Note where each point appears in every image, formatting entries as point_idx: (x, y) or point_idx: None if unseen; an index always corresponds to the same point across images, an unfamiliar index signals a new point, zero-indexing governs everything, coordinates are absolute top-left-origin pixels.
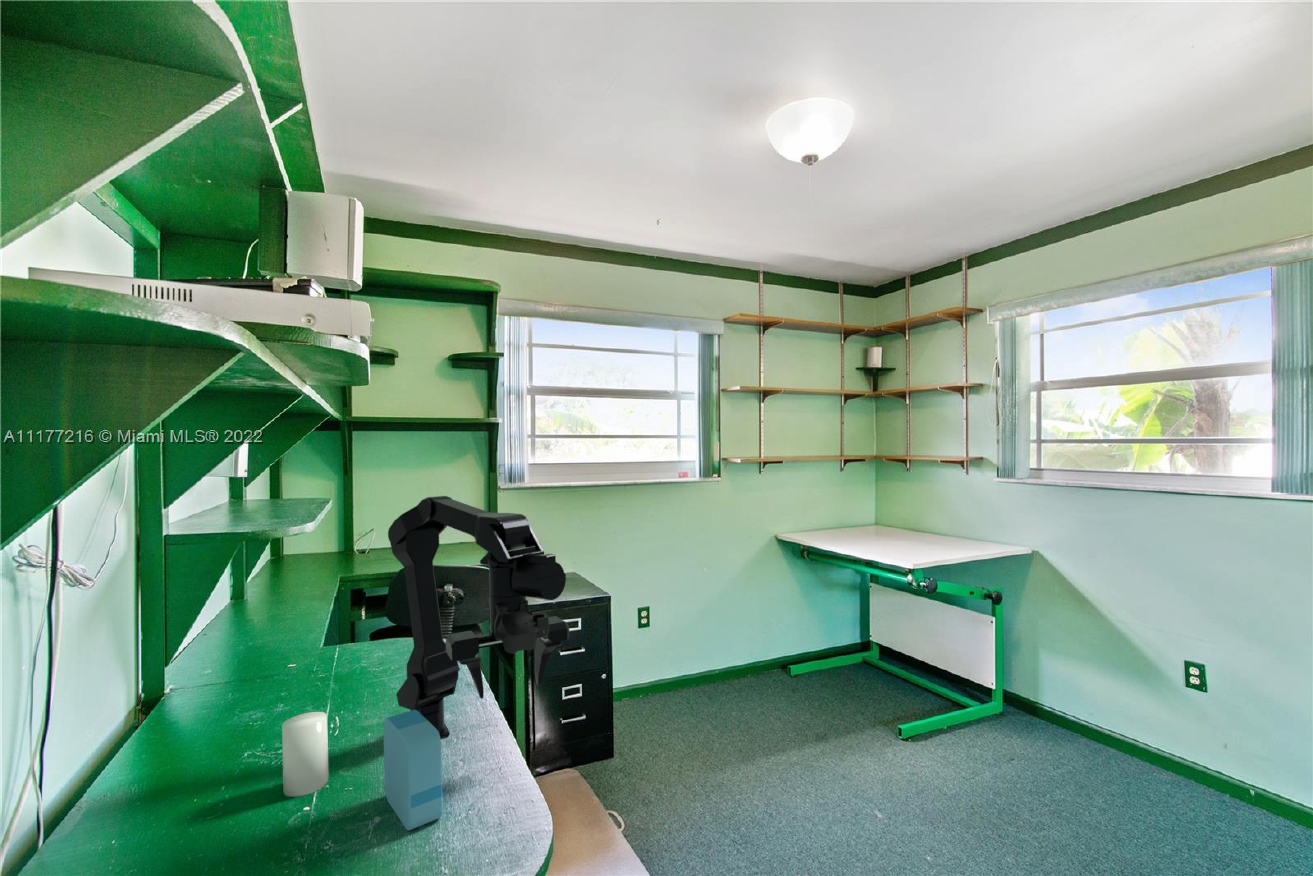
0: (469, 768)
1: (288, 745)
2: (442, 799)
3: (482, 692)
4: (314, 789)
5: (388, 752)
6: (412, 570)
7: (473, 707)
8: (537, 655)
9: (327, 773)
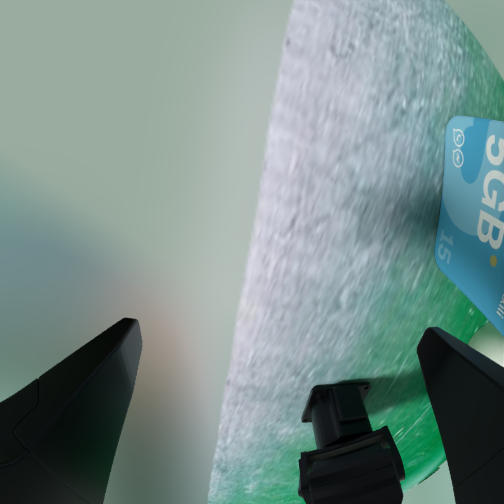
0: (342, 265)
1: None
2: (469, 118)
3: (448, 339)
4: (489, 324)
5: None
6: None
7: (240, 435)
8: (83, 477)
9: (477, 344)
